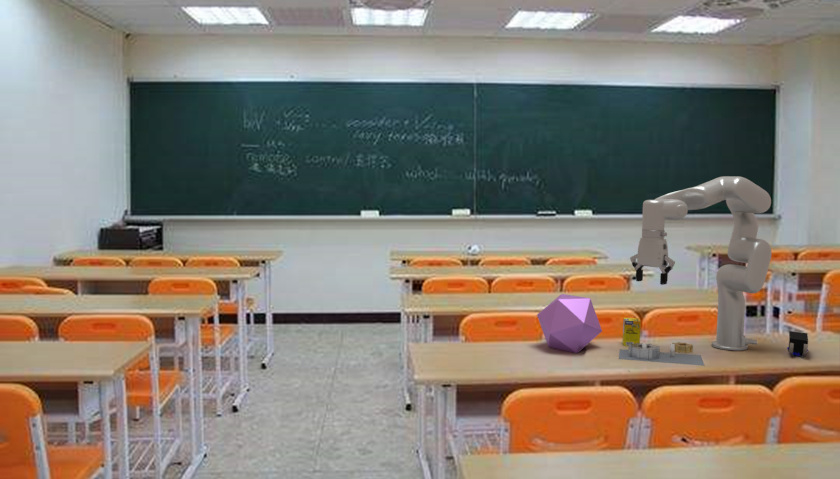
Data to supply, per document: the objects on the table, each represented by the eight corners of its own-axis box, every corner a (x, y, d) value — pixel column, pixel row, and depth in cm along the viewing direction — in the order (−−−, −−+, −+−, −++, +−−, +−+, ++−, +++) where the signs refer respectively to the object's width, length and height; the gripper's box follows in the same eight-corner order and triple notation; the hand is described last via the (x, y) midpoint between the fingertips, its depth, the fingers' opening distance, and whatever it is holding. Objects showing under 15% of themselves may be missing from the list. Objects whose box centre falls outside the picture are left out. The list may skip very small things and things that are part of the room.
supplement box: (640, 350, 271) (641, 321, 270) (623, 349, 272) (624, 320, 271) (638, 346, 277) (639, 318, 276) (622, 345, 278) (623, 317, 277)
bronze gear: (691, 352, 268) (691, 343, 268) (692, 356, 262) (693, 347, 261) (671, 350, 270) (672, 341, 270) (672, 355, 264) (672, 345, 263)
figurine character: (808, 364, 259) (806, 350, 272) (810, 343, 257) (808, 330, 271) (787, 362, 262) (786, 348, 275) (788, 341, 260) (787, 329, 274)
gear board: (700, 358, 259) (701, 342, 259) (704, 369, 245) (705, 352, 245) (619, 352, 267) (620, 337, 267) (618, 362, 253) (619, 346, 252)
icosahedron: (615, 339, 259) (597, 279, 272) (561, 341, 254) (545, 280, 267) (591, 363, 277) (575, 306, 290) (540, 366, 272) (526, 307, 285)
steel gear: (658, 353, 261) (659, 344, 260) (659, 360, 251) (660, 350, 250) (628, 351, 264) (629, 342, 263) (628, 358, 254) (628, 348, 253)
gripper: (681, 235, 253) (679, 284, 254) (637, 232, 266) (636, 279, 268) (669, 237, 248) (667, 286, 250) (625, 233, 261) (624, 280, 263)
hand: (651, 282), depth 259 cm, fingers open, 9 cm apart
